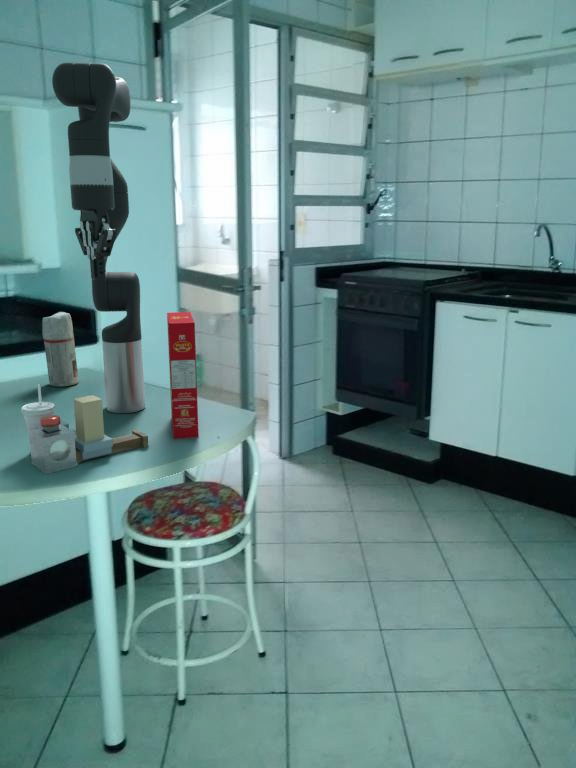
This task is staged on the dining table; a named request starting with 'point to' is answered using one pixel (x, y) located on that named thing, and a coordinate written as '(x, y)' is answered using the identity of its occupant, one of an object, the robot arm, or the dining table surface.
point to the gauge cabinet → (53, 449)
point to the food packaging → (183, 374)
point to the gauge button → (50, 423)
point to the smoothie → (37, 411)
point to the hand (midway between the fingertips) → (98, 279)
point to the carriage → (90, 427)
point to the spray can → (60, 350)
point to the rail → (122, 444)
